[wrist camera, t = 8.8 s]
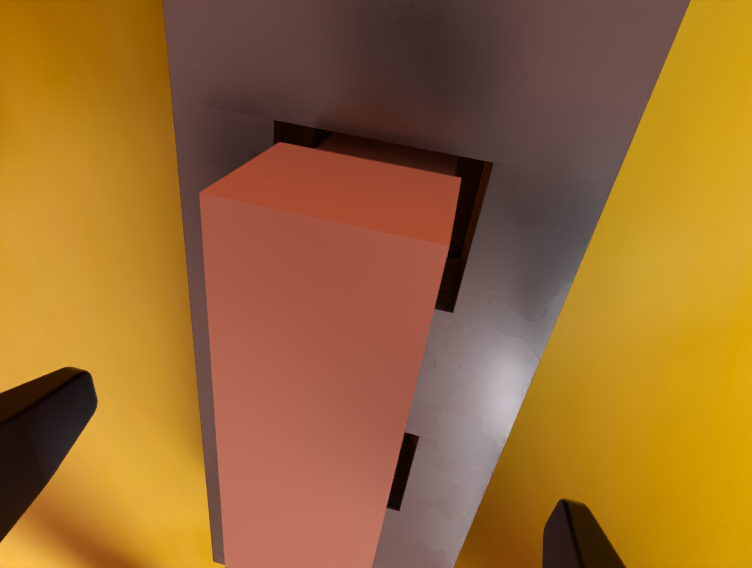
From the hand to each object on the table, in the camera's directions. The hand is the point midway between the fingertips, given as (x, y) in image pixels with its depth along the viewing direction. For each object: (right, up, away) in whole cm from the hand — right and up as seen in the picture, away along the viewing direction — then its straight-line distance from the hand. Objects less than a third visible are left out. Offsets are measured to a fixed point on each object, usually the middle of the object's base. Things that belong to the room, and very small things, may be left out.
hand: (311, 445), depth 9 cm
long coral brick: (+1, +3, +4) cm, 5 cm away
